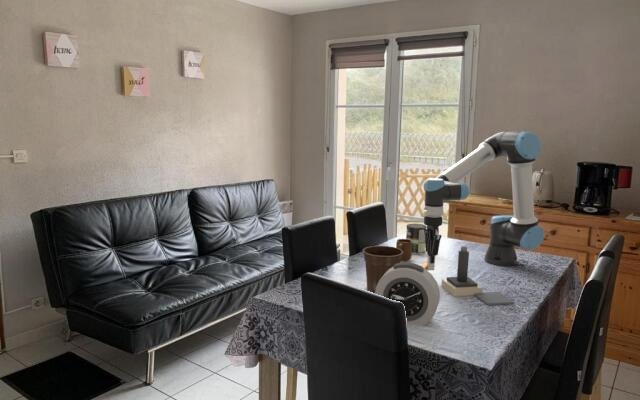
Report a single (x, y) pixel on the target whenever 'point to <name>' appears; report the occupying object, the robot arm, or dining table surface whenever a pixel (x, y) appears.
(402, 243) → the mug
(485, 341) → the dining table surface
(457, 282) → the plug
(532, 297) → the dining table surface
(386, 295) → the alarm clock
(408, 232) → the coffee can
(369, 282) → the plant pot
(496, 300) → the mat
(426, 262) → the orange lever handle
